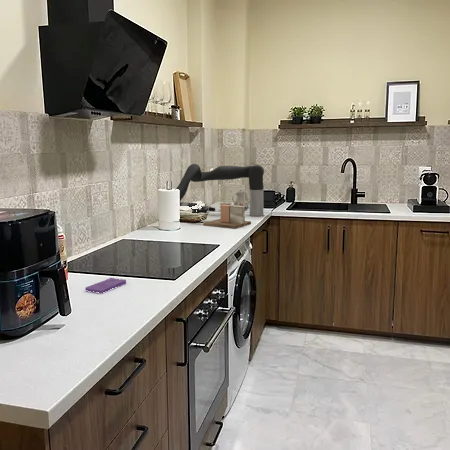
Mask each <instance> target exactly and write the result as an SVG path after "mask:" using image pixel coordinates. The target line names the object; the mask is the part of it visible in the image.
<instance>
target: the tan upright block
mask: <svg viewBox="0 0 450 450" xmlns="http://www.w3.org/2000/svg"><path fill="white" fill-rule="evenodd" d="M232 205H233V204H231V205H221V209H220V219H221V222H228V223H230V206H232Z"/></svg>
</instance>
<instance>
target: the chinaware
mask: <svg viewBox="0 0 450 450" xmlns="http://www.w3.org/2000/svg"><path fill="white" fill-rule="evenodd" d="M234 196H236V199H235V200H234ZM231 200H232V201H233V204H232V202H230V201H229V202H226V201H225V202H223V201H222V202H219V205H220V206H219V208H220V210H221V205H234V206H245V211H247V210H248V208H249V206H250V199H249V197H248V190H243V189H242V188H241V187H240V188H239V189H238V190H237V191H235V193H233V194H232V196H231Z"/></svg>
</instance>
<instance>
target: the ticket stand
mask: <svg viewBox="0 0 450 450" xmlns="http://www.w3.org/2000/svg"><path fill="white" fill-rule="evenodd" d="M231 205H232V206H230V223H228V222H221V218H216V219H213V220H210V221H205V222H203V226H205V227H206V226H207V227H213V228H214V227H215V228H222V229H223V228H225V229H232V230H235V229H238V228H241V227H243V228H244V227H245V226H249V225H251V224H252V221H249V220H245V217H246V215H245V213H246V210H245V206H234V204H231Z"/></svg>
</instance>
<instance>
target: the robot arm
mask: <svg viewBox="0 0 450 450" xmlns="http://www.w3.org/2000/svg"><path fill="white" fill-rule="evenodd" d="M264 174H265V169H264V167H263V166H262V165H260V164H255V165H247V166H238V165H235V166H234V165H220V166H218V167H216V168H214V169H212V170H210V171H202V169H201V167H200V165H199V164H197V163H192V164H190V165H189V166H188V167H187V168H186V170H185V173H184V174H183V176H182V179H181V180H180V182H179V184H178V185H177V187H176V188H175V190H176V189H179V190H180V206H189V207H192V206H195V205H197V204H198V203H197V202H190V201H189V202H187V201H186V202H182V199H183V198H184V197H185V195H186V194H187V192H188V188H189V186H190V182H193V183H200V182H207V181H229V180H230V181H231V180H236V179H237V180H238V179H243V178H248V185H249V186H248V187H249V201H250V203H249V216H251V217H262V216H264V189H265V188H264ZM199 206H201V207H202V208H200V207H199ZM197 208H198V209H192V208H191V209H192V213H197V215H198V214H207V213H208V212H216V207H213V206H209V205H207V206H205V205H198V207H197ZM196 210H197V212H196Z"/></svg>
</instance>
